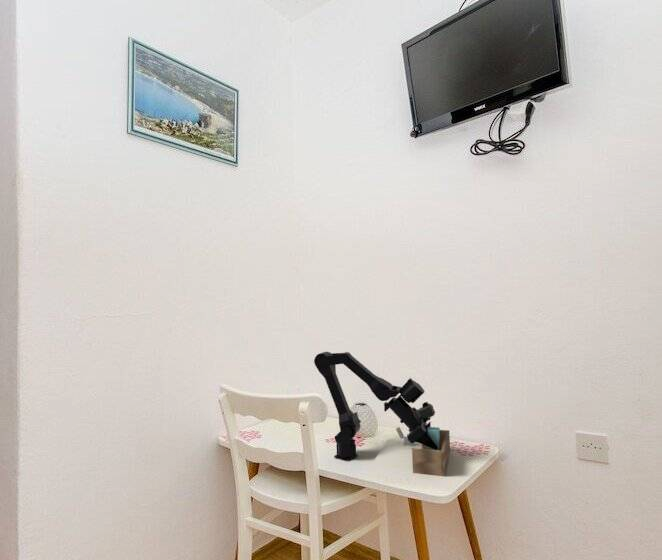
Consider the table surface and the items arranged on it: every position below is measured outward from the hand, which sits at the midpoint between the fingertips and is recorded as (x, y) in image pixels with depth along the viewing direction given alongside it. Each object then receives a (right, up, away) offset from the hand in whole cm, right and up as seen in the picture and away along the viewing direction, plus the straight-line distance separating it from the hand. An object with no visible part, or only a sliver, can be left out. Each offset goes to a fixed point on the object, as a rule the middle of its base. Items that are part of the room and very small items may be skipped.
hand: (437, 446), depth 144 cm
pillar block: (-1, -5, 0) cm, 5 cm away
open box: (-1, -7, 0) cm, 7 cm away
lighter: (-8, -8, +18) cm, 21 cm away
